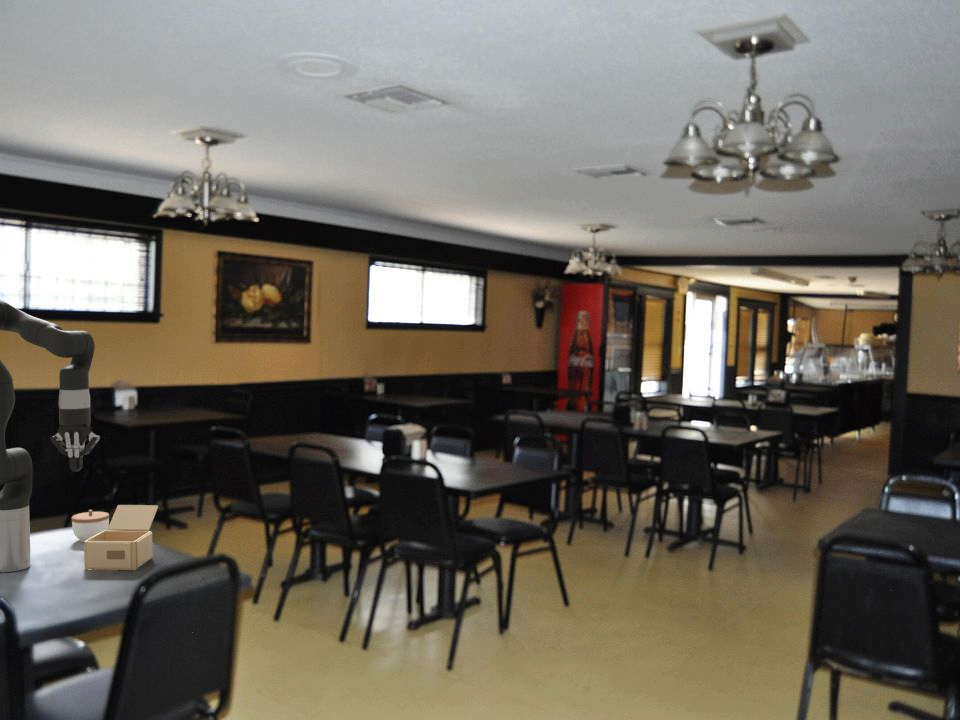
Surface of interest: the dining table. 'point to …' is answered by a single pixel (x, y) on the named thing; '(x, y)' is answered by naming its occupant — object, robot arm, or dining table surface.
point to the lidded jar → (89, 524)
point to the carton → (118, 550)
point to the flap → (133, 517)
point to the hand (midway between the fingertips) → (76, 470)
